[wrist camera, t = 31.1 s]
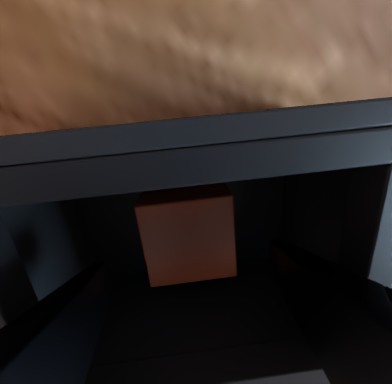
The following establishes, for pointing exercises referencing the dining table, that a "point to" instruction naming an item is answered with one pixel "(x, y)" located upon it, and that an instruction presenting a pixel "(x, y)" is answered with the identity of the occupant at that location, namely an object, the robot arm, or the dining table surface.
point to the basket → (244, 229)
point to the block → (187, 233)
